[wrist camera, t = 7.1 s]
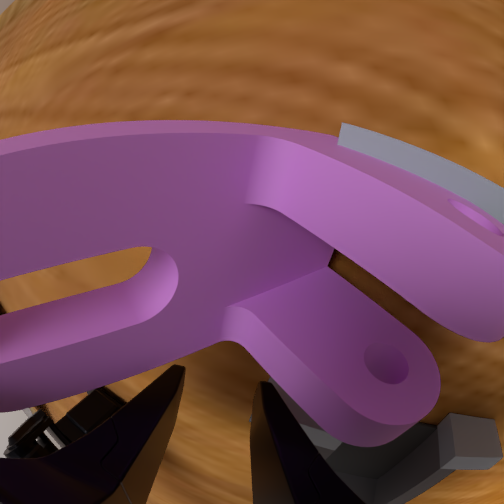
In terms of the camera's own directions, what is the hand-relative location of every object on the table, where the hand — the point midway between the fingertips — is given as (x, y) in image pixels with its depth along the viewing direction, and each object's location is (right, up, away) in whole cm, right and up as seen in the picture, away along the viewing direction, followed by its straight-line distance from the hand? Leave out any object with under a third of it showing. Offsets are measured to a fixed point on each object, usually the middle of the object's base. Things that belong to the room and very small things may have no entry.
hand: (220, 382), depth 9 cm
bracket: (-2, +4, -3) cm, 6 cm away
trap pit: (+8, -7, +4) cm, 11 cm away
